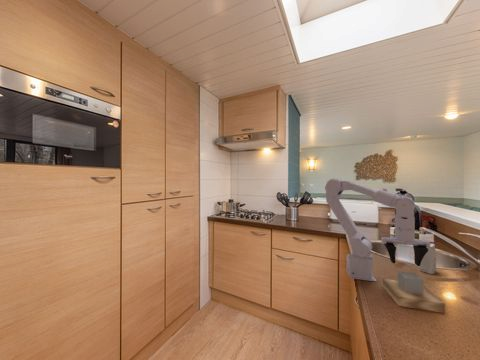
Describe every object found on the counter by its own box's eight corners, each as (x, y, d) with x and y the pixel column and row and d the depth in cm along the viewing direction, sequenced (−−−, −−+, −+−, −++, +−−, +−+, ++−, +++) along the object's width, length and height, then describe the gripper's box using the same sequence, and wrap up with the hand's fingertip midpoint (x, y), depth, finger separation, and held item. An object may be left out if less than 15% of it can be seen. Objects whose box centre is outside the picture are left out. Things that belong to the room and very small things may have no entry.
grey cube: (405, 292, 65) (405, 277, 65) (397, 284, 70) (397, 271, 70) (423, 294, 64) (423, 279, 64) (414, 286, 68) (414, 272, 68)
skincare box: (433, 274, 83) (432, 247, 83) (419, 270, 87) (418, 244, 87) (436, 271, 86) (436, 244, 87) (423, 267, 90) (423, 241, 90)
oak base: (398, 305, 63) (398, 296, 63) (382, 286, 74) (382, 278, 74) (444, 313, 59) (444, 303, 59) (421, 291, 70) (420, 283, 70)
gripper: (386, 229, 71) (386, 265, 71) (435, 232, 67) (435, 271, 67) (379, 225, 78) (379, 258, 78) (423, 227, 74) (423, 262, 73)
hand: (404, 263), depth 73 cm, fingers open, 7 cm apart
